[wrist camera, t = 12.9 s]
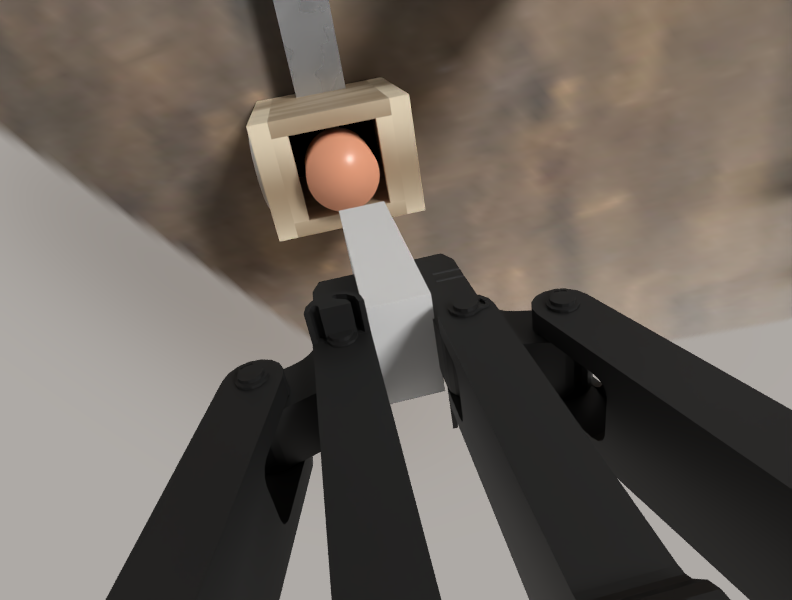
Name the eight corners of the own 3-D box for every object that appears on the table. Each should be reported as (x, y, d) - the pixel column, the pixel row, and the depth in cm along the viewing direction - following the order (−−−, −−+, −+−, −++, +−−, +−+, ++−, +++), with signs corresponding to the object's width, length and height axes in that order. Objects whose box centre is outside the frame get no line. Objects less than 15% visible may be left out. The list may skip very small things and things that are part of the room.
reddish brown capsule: (297, 135, 28) (298, 147, 25) (364, 121, 28) (372, 131, 25) (313, 200, 29) (316, 218, 27) (376, 187, 30) (385, 203, 27)
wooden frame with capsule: (250, 102, 33) (237, 128, 25) (381, 77, 34) (409, 94, 26) (276, 194, 36) (272, 243, 28) (396, 169, 36) (425, 209, 29)
